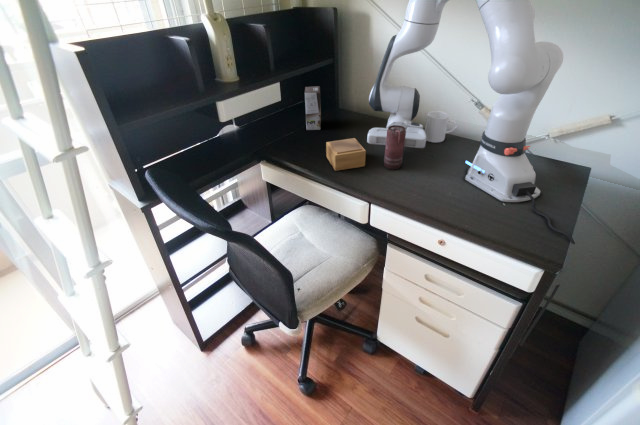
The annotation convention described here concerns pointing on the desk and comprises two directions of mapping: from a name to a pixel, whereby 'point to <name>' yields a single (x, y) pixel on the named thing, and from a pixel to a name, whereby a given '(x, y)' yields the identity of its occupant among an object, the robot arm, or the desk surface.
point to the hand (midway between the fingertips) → (394, 147)
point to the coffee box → (313, 108)
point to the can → (394, 147)
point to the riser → (345, 154)
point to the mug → (437, 126)
